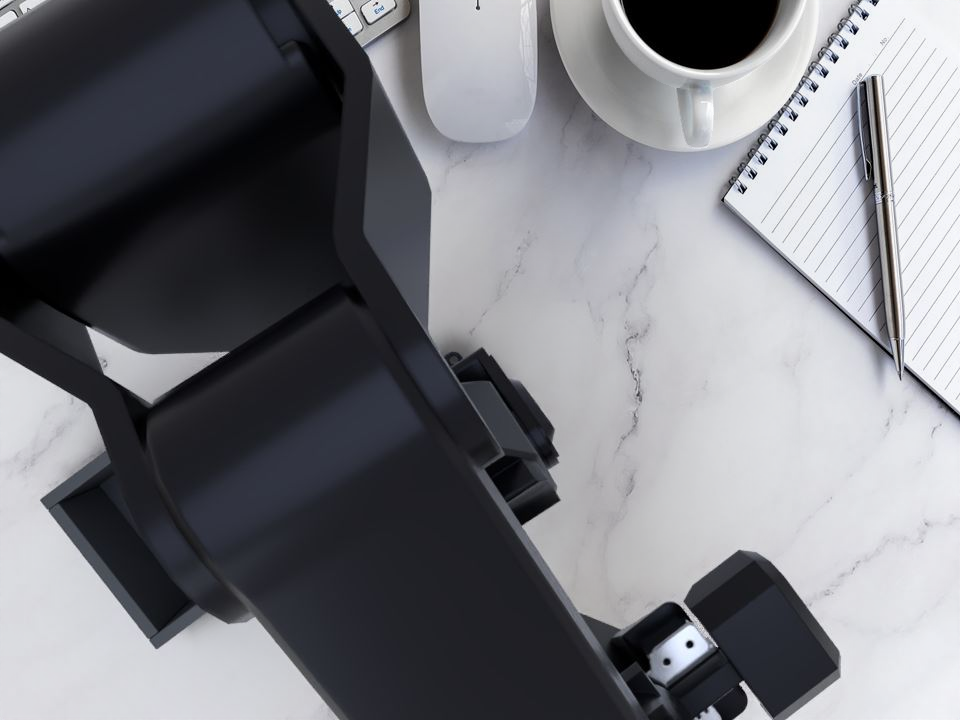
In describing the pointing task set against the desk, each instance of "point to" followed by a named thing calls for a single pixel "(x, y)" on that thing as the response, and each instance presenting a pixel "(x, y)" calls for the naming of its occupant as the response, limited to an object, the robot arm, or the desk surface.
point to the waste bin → (120, 551)
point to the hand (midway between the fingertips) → (590, 664)
